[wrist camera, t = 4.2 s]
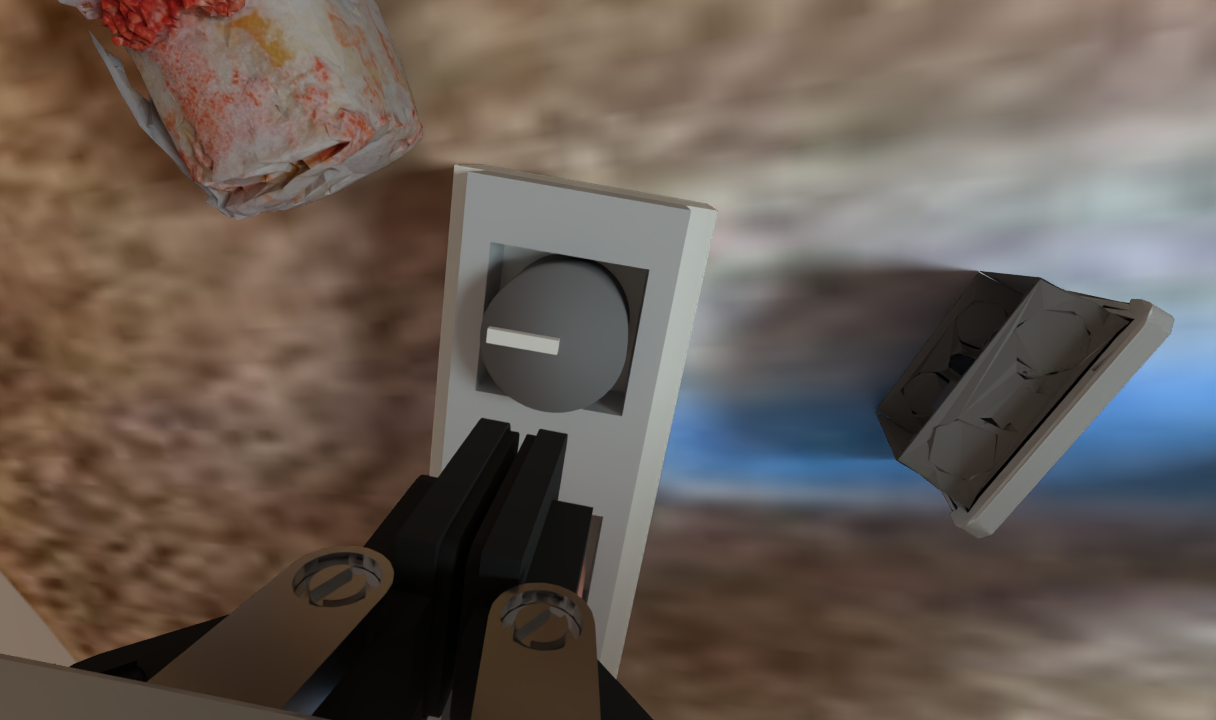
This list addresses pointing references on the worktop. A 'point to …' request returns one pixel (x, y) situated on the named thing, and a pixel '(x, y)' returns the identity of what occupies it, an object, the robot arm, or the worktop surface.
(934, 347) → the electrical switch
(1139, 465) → the worktop surface
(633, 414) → the knob panel
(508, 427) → the robot arm
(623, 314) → the knob
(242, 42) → the food item
